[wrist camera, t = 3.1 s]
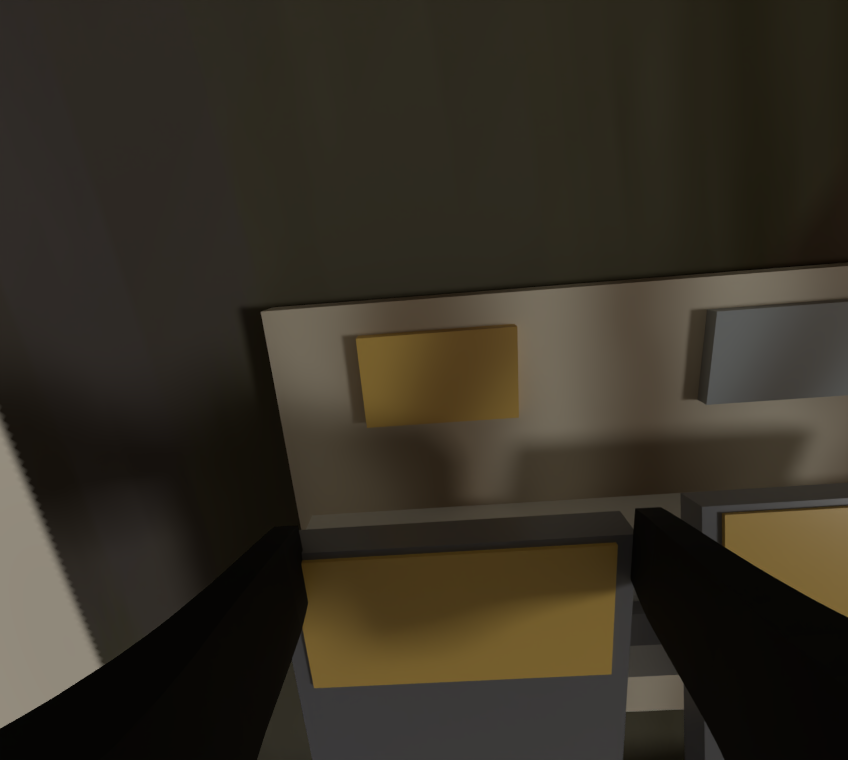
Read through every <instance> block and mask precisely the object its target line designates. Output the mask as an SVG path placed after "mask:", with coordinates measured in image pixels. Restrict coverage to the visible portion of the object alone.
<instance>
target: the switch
mask: <svg viewBox="0 0 848 760" xmlns="http://www.w3.org/2000/svg"><path fill="white" fill-rule="evenodd" d="M299 534H300V539H301V544H302V548H303V551H302V553H301V554H302V560H303V561H302V563H301V565H302V571H303V576H304V582H305V587H306V593H307V598H308V606H307V611H306V615H305V619H304V623H303V627H302V632H301V634H300V637H299V640H298V643H297V646H296V649H295V652H294V655H293V657H292V662H293V667H294V672H295V677H296V682H297V686H298V691H299V696H300V701H301V706H302V711H303V716H304V721H305V726H306V730H307V735H308V740H309V745H310V750H311V755H312V760H623V750H624V734H625V718H626V702H627V686H628V671H629V655H630V639H631V623H632V607H633V591H634V587H633V584H632V582H631V562H632V546H633V528H632V526H631V525H630V524H629V522H628V521H627V520H626V518H625V517H624V516H623V514H622V513H621V512H620V511H608V512H592V513H575V514H558V515H542V516H525V517H508V518H491V519H475V520H458V521H441V522H425V523H408V524H391V525H375V526H358V527H341V528H325V529H308V530H299Z"/></svg>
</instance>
